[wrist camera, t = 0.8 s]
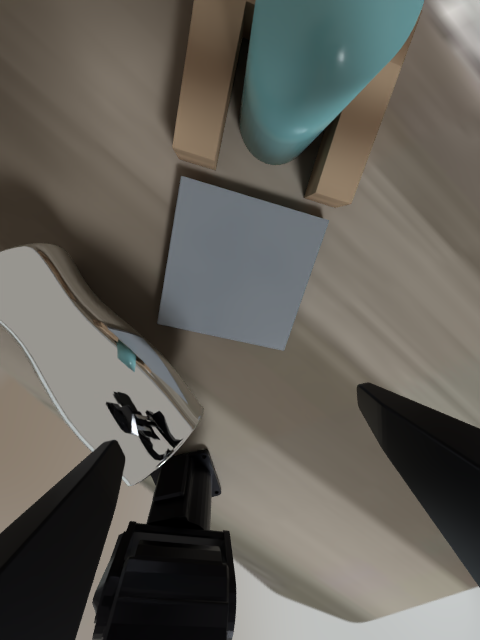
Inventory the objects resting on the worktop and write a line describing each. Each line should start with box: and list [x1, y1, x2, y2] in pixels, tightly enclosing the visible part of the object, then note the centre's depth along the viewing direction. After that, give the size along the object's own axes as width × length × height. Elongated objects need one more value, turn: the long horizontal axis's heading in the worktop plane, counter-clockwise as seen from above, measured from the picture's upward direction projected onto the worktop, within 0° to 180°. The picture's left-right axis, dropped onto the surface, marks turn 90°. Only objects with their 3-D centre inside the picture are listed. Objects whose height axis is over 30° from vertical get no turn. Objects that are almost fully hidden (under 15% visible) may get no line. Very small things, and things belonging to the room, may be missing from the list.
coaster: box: [157, 176, 329, 351], centre depth 19 cm, size 11×11×1 cm
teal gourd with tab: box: [239, 0, 424, 165], centre depth 12 cm, size 8×5×10 cm, turn 165°
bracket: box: [172, 0, 422, 208], centre depth 15 cm, size 10×12×2 cm
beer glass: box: [0, 243, 204, 486], centre depth 17 cm, size 7×7×15 cm
